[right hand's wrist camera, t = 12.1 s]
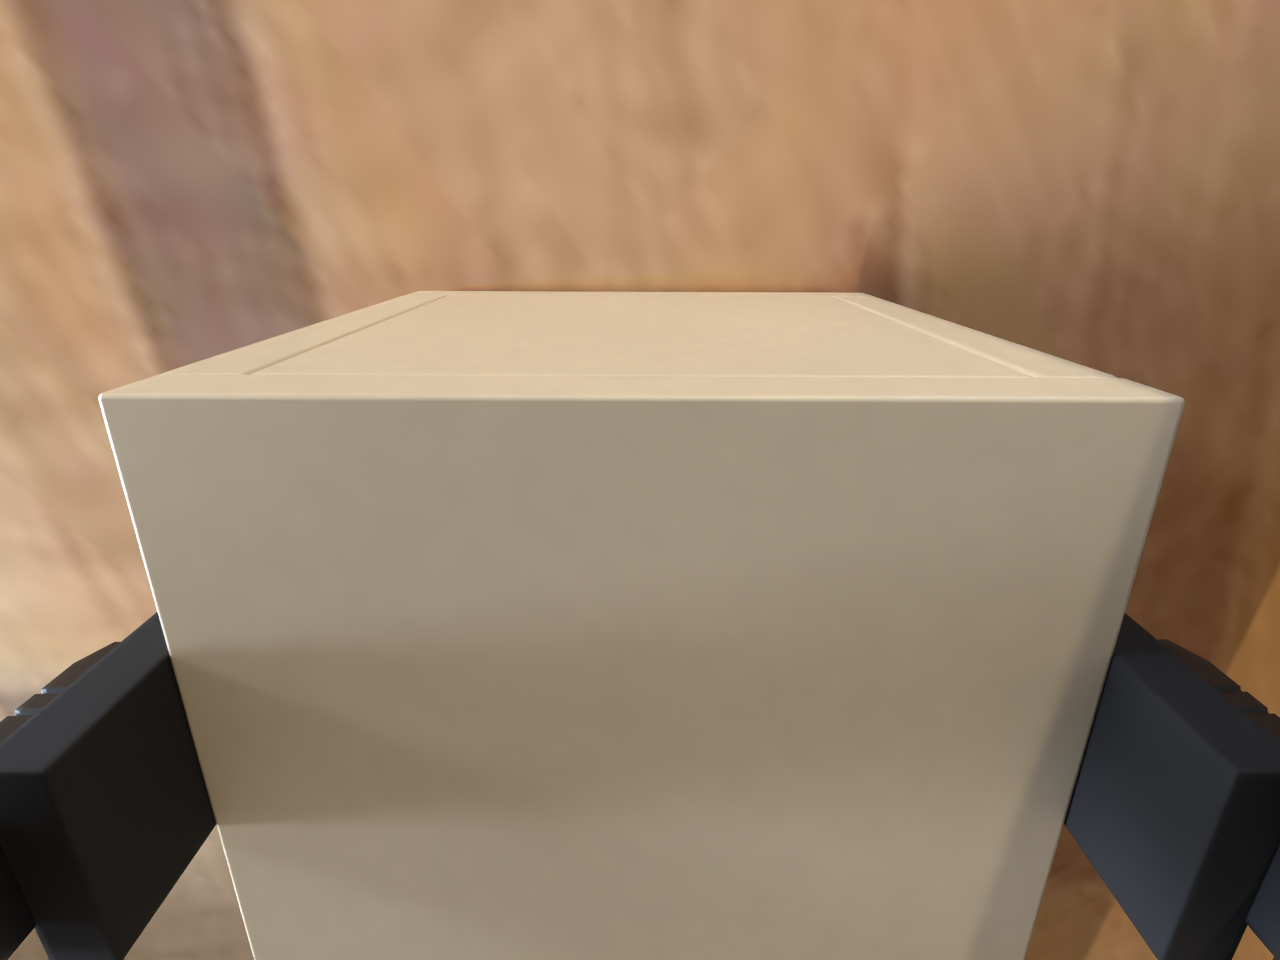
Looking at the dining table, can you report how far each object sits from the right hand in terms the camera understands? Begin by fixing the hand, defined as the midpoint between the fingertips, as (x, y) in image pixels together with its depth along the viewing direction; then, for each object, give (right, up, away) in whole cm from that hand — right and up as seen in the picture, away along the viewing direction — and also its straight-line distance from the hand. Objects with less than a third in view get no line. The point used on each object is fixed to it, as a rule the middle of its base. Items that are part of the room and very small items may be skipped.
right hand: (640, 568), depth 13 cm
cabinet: (0, -3, +8) cm, 9 cm away
